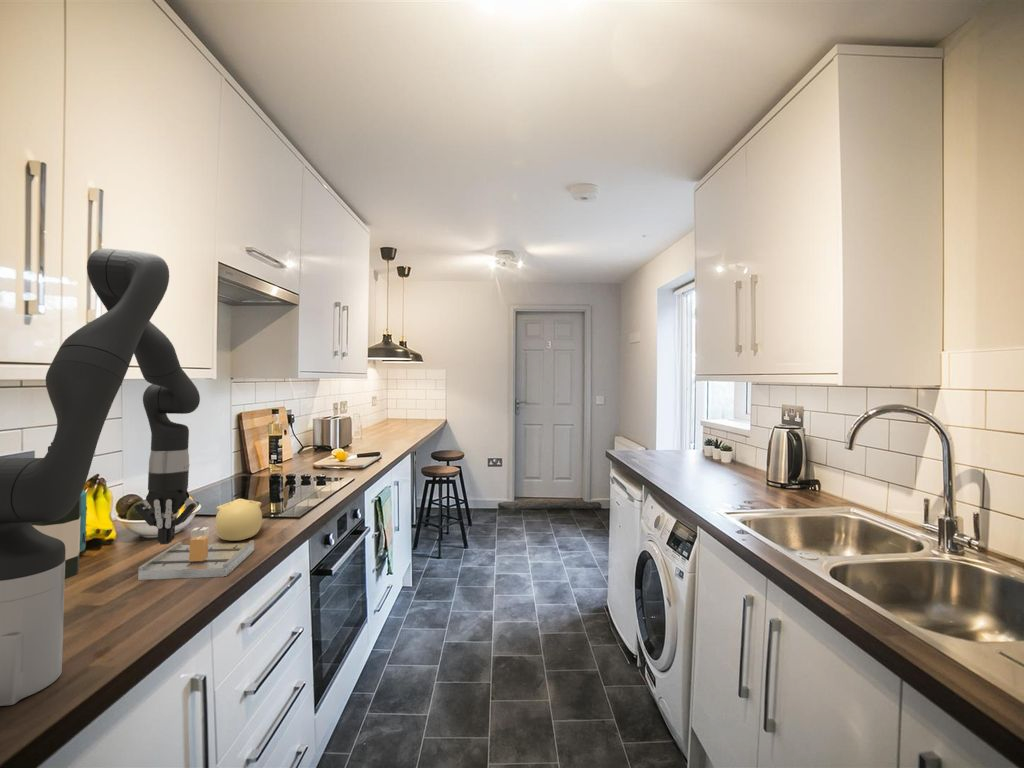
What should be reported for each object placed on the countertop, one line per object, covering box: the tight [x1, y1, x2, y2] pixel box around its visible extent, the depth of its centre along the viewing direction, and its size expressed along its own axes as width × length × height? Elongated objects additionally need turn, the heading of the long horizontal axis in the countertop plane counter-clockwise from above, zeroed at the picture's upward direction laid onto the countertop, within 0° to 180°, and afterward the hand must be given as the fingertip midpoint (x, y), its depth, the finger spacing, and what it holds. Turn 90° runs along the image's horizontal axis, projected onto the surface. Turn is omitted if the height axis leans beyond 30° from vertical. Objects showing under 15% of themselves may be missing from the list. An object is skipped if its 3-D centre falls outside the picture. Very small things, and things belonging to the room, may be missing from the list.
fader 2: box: [189, 536, 210, 561], centre depth 107 cm, size 2×3×5 cm
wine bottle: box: [31, 441, 81, 580], centre depth 101 cm, size 8×8×30 cm
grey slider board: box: [137, 539, 255, 581], centre depth 110 cm, size 16×18×3 cm
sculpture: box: [214, 498, 263, 542], centre depth 129 cm, size 12×12×11 cm
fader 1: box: [190, 526, 210, 542], centre depth 113 cm, size 2×3×5 cm
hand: (166, 543), depth 105 cm, fingers closed
